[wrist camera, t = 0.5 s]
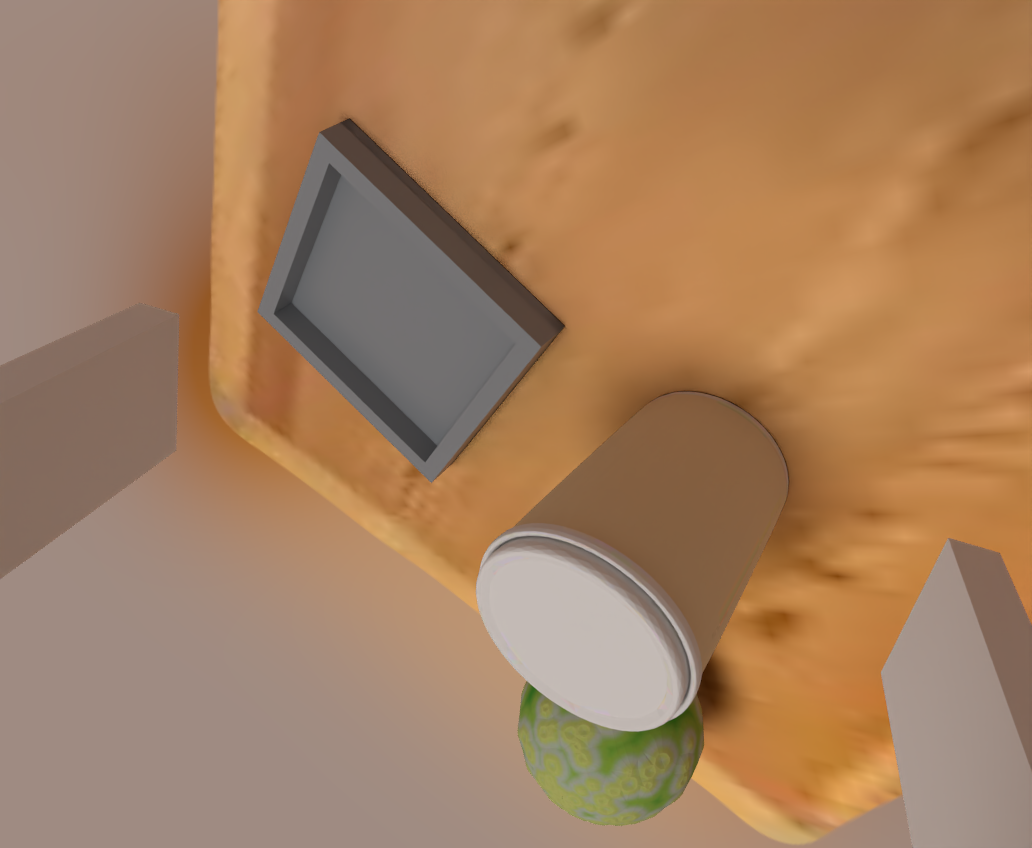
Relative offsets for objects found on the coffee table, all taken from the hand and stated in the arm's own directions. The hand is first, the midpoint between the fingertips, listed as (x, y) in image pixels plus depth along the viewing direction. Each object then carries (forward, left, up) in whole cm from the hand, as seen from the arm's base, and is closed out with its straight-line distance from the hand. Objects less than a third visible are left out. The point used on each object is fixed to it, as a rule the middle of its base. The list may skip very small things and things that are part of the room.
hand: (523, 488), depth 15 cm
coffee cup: (+16, +5, -21) cm, 27 cm away
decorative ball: (+30, +12, -21) cm, 39 cm away
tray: (+23, -11, -21) cm, 33 cm away
